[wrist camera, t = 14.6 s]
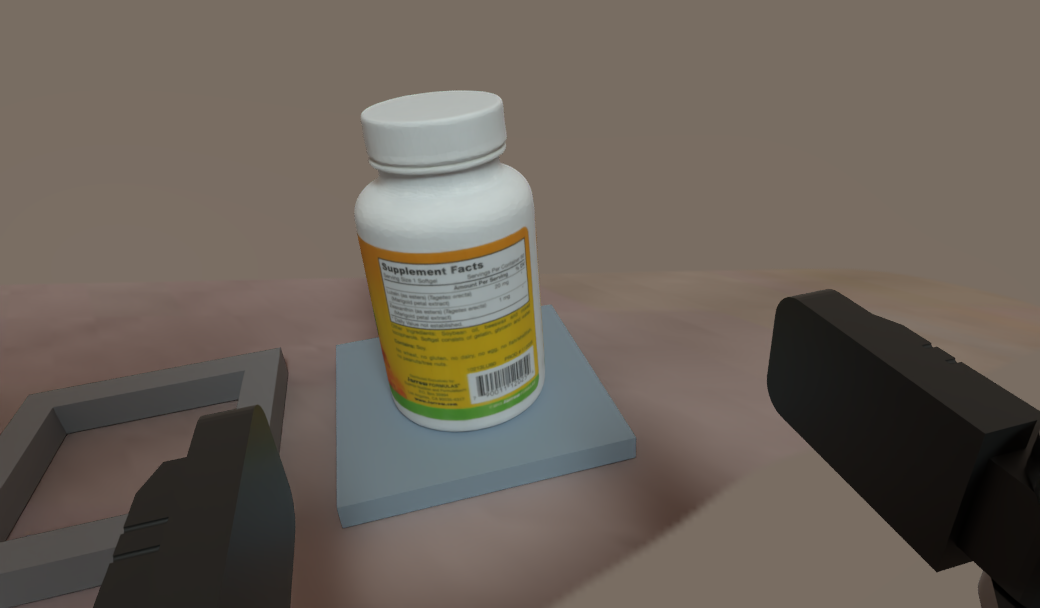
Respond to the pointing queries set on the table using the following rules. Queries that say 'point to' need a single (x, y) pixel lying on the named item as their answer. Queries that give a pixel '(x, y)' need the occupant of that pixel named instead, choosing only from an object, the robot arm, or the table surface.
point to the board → (467, 435)
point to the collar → (51, 415)
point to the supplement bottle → (451, 261)
